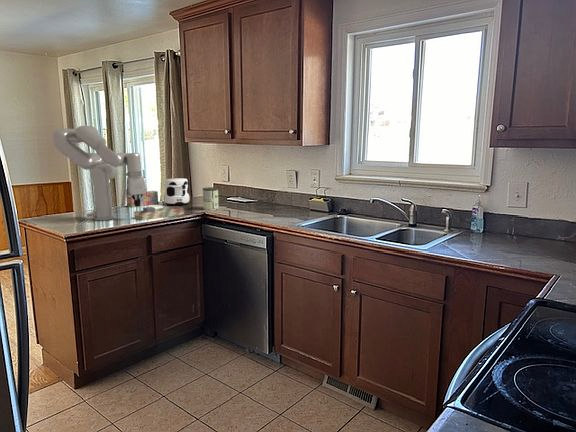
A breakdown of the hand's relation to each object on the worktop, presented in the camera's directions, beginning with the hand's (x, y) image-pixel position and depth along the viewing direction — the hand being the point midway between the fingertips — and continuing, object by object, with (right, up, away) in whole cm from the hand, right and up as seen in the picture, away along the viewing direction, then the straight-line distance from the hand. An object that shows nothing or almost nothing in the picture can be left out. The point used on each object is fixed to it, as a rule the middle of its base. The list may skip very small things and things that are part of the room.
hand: (137, 206), depth 253 cm
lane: (+9, -6, +12) cm, 16 cm away
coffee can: (+36, -1, +39) cm, 53 cm away
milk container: (+8, +2, +58) cm, 59 cm away
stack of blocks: (-15, +2, +53) cm, 55 cm away
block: (+5, -5, +7) cm, 9 cm away
